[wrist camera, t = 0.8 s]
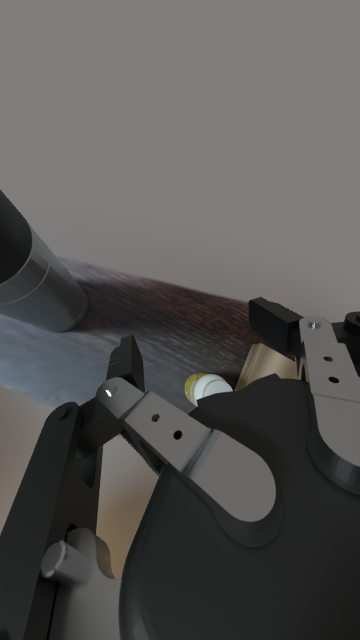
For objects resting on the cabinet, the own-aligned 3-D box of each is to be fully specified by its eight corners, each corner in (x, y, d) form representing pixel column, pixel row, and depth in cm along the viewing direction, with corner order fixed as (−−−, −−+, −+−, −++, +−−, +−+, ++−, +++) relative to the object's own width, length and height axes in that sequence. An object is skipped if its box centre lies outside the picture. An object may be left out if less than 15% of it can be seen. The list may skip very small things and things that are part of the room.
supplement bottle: (180, 400, 32) (194, 413, 23) (188, 369, 34) (204, 370, 25) (210, 408, 33) (235, 424, 24) (216, 376, 34) (242, 380, 25)
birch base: (228, 404, 33) (236, 407, 31) (252, 344, 37) (261, 343, 34) (296, 441, 34) (309, 447, 31) (312, 378, 37) (326, 379, 35)
